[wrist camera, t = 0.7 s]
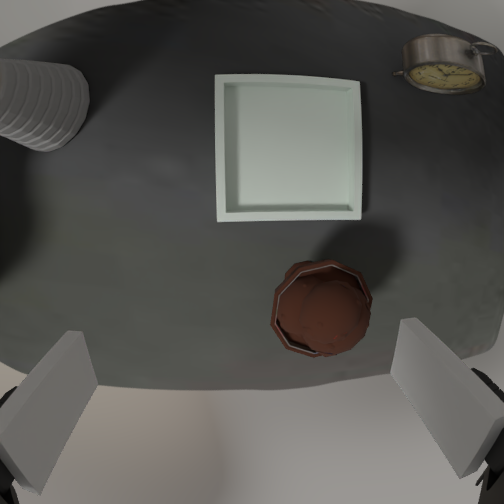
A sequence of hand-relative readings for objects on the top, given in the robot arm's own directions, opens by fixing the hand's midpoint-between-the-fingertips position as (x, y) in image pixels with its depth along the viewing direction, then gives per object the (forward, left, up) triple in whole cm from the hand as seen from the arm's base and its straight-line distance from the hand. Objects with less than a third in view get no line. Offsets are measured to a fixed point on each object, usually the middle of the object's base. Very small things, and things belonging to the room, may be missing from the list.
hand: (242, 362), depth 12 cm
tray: (+6, +10, -28) cm, 30 cm away
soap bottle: (-25, +18, -28) cm, 41 cm away
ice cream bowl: (+9, -7, -28) cm, 30 cm away
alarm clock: (+25, +22, -28) cm, 44 cm away
